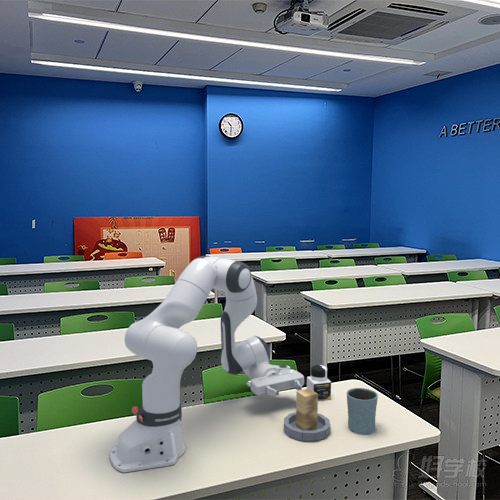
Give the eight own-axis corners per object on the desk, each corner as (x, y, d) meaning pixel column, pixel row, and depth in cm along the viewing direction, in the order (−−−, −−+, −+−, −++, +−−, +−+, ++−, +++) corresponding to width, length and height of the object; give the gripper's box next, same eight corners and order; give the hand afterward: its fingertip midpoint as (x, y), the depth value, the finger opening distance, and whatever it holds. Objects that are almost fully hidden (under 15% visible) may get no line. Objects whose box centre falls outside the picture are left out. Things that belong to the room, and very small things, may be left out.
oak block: (304, 432, 158) (305, 396, 157) (296, 425, 163) (296, 391, 161) (317, 428, 161) (317, 393, 159) (308, 422, 165) (309, 388, 164)
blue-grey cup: (354, 437, 157) (355, 401, 156) (340, 422, 167) (341, 389, 166) (382, 433, 160) (383, 397, 159) (367, 419, 170) (368, 386, 168)
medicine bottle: (313, 401, 184) (314, 370, 182) (306, 394, 191) (306, 364, 189) (331, 399, 186) (331, 368, 184) (323, 392, 192) (323, 362, 191)
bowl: (300, 446, 152) (300, 437, 151) (275, 425, 165) (275, 417, 165) (339, 435, 159) (339, 426, 158) (312, 416, 172) (312, 408, 171)
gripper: (244, 374, 178) (262, 387, 166) (291, 364, 187) (312, 377, 175) (244, 390, 179) (262, 405, 166) (291, 380, 188) (312, 393, 176)
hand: (288, 390), depth 171 cm, fingers open, 8 cm apart
